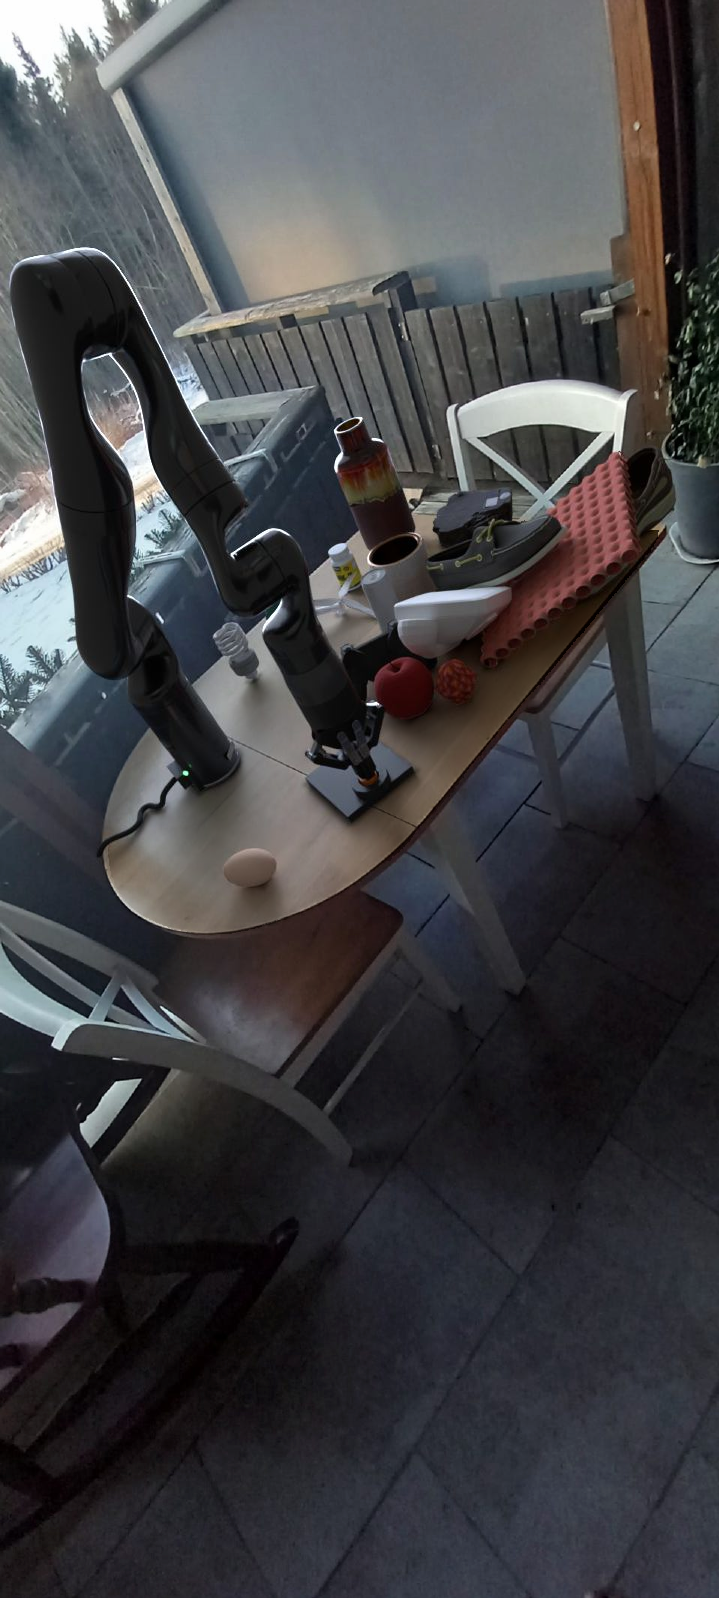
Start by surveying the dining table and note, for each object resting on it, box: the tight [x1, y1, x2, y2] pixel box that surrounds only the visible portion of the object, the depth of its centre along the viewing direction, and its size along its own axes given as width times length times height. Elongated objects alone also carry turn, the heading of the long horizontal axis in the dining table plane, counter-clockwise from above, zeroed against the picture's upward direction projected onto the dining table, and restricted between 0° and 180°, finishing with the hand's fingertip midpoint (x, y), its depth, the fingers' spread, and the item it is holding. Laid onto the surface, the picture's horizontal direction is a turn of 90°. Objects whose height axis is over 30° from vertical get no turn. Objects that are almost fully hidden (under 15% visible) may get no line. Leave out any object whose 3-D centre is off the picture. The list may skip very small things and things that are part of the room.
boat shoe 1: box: [425, 513, 568, 592], centre depth 121 cm, size 11×29×9 cm, turn 60°
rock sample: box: [431, 486, 514, 548], centre depth 148 cm, size 18×16×5 cm
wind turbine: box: [264, 572, 376, 625], centre depth 143 cm, size 4×14×21 cm
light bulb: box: [212, 621, 260, 680], centre depth 139 cm, size 6×6×12 cm
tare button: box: [359, 771, 379, 786], centre depth 107 cm, size 3×3×2 cm
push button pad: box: [304, 741, 416, 824], centre depth 111 cm, size 14×12×3 cm
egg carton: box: [479, 450, 643, 669], centre depth 117 cm, size 28×28×2 cm
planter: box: [366, 532, 436, 602], centre depth 138 cm, size 11×11×10 cm
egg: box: [222, 847, 277, 888], centre depth 104 cm, size 5×5×8 cm
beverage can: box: [361, 568, 399, 634], centre depth 131 cm, size 5×5×12 cm
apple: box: [373, 657, 435, 720], centre depth 115 cm, size 9×9×10 cm
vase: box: [333, 416, 417, 552], centre depth 147 cm, size 11×11×26 cm
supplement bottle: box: [328, 542, 363, 592], centre depth 150 cm, size 5×5×8 cm
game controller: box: [339, 619, 438, 703], centre depth 124 cm, size 16×7×10 cm, turn 107°
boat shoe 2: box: [576, 445, 677, 603], centre depth 122 cm, size 32×13×12 cm, turn 127°
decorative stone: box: [434, 658, 478, 706], centre depth 112 cm, size 6×7×8 cm
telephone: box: [394, 587, 512, 659], centre depth 119 cm, size 16×20×9 cm
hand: (368, 775), depth 106 cm, fingers closed
